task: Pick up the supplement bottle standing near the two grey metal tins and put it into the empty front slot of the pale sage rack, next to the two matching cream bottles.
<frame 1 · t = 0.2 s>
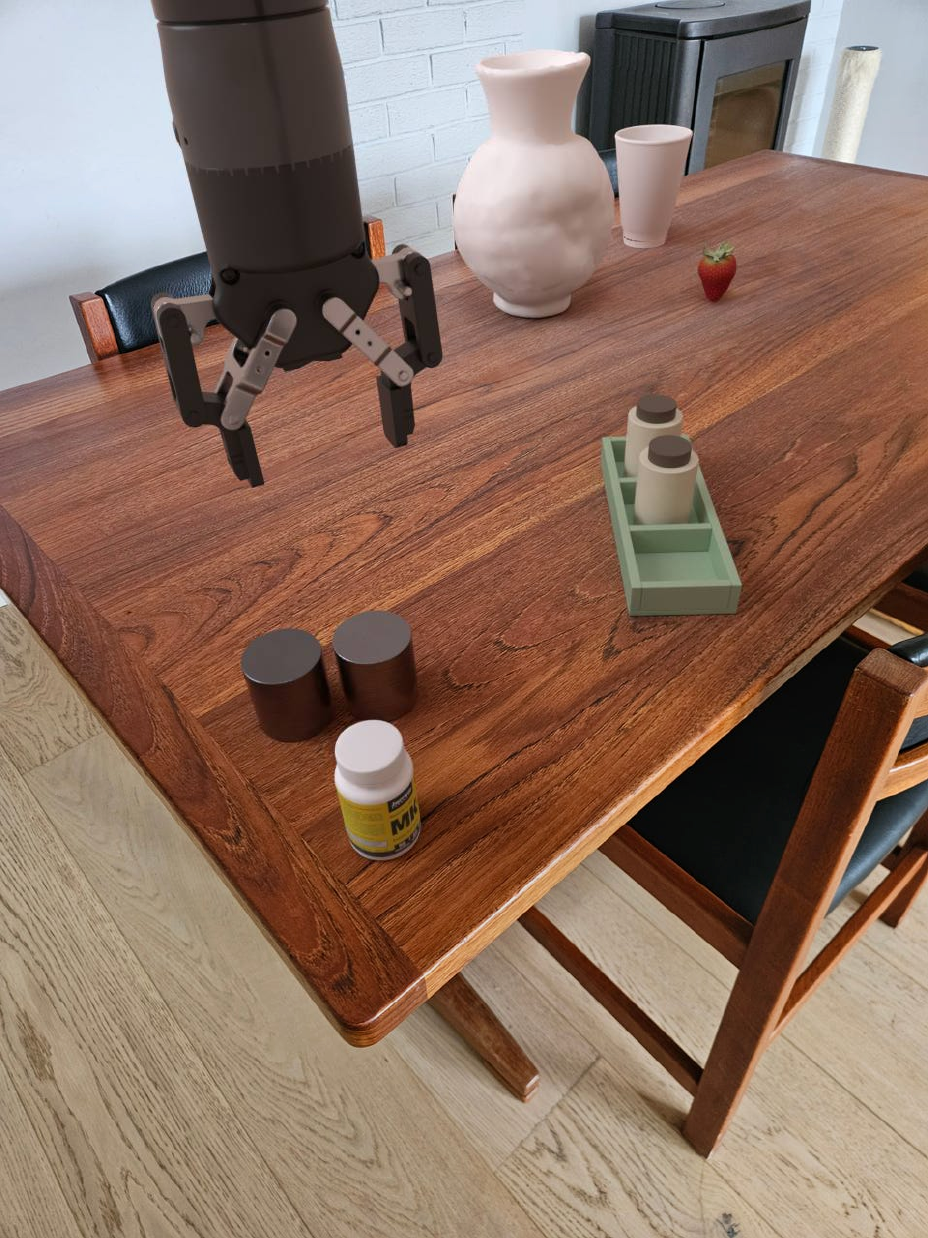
hand: (327, 460, 47), 21 cm above the table, tool pointing down, fingers open, 8 cm apart
vase: (531, 307, 119), on the table
rack: (659, 529, 76), on the table
fruit: (712, 301, 117), on the table
grey tin 2: (297, 713, 61), on the table
grey tin 1: (381, 694, 62), on the table
supplement bottle: (385, 832, 53), on the table
cream bottle 2: (648, 479, 81), resting on rack
cup: (644, 242, 137), on the table
cream bottle 1: (660, 524, 76), resting on rack
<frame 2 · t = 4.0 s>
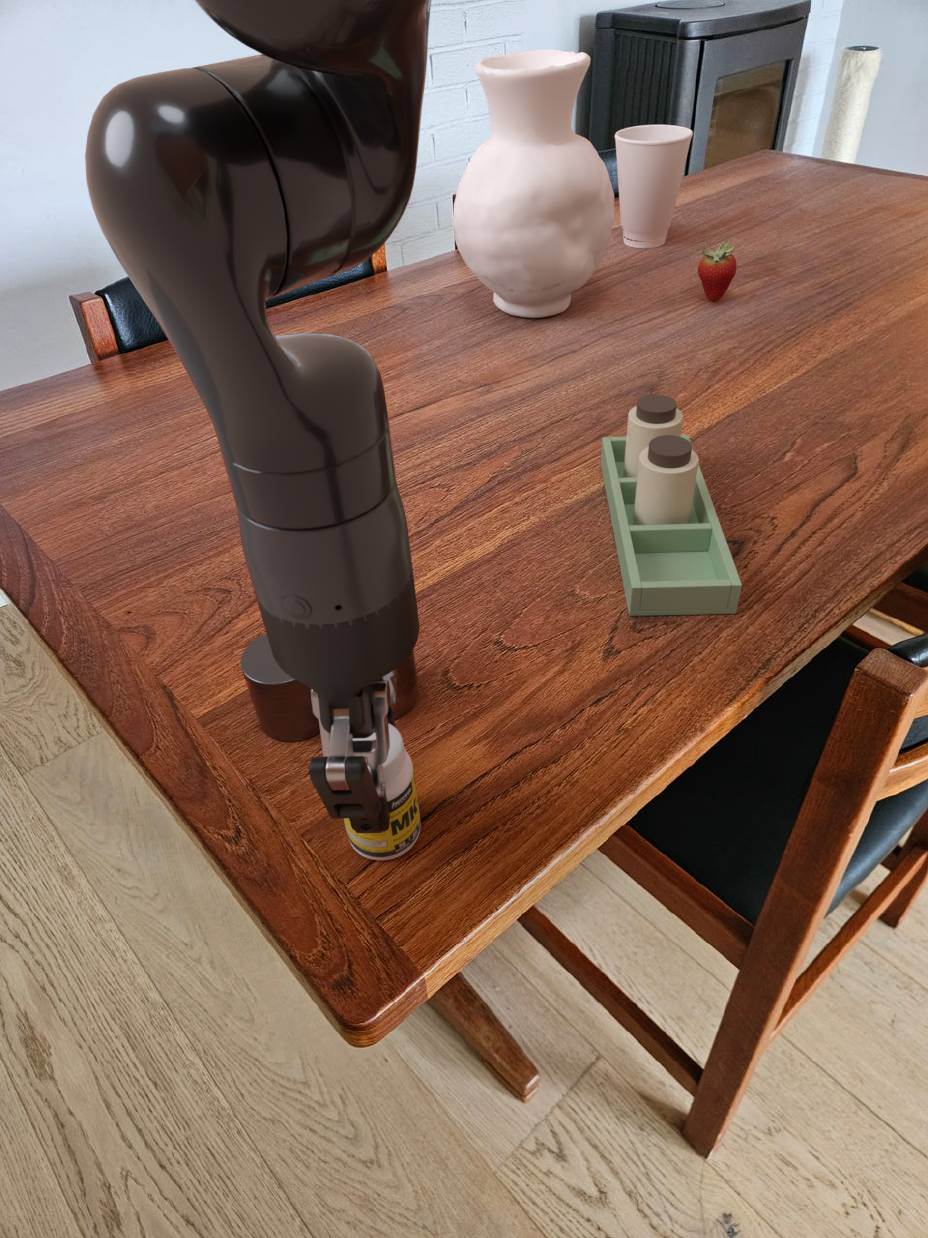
hand: (376, 787, 50), 4 cm above the table, tool pointing down, fingers closed on supplement bottle, 4 cm apart
supplement bottle: (385, 832, 53), on the table, touching gripper
everything else where it was.
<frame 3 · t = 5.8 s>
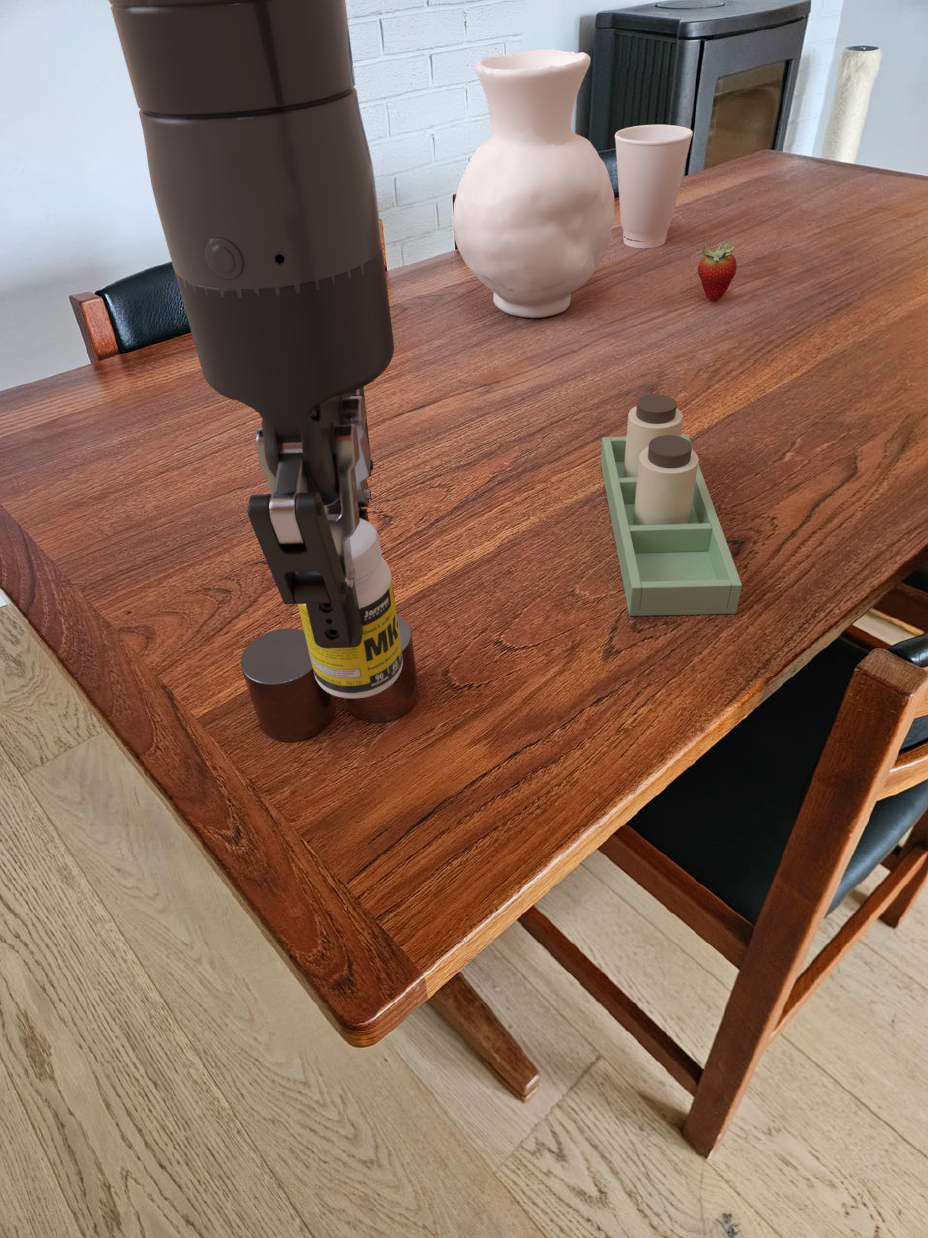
hand: (347, 604, 41), 19 cm above the table, tool pointing down, fingers closed on supplement bottle, 4 cm apart
supplement bottle: (360, 671, 44), point 14 cm above the table, touching gripper
everything else where it was.
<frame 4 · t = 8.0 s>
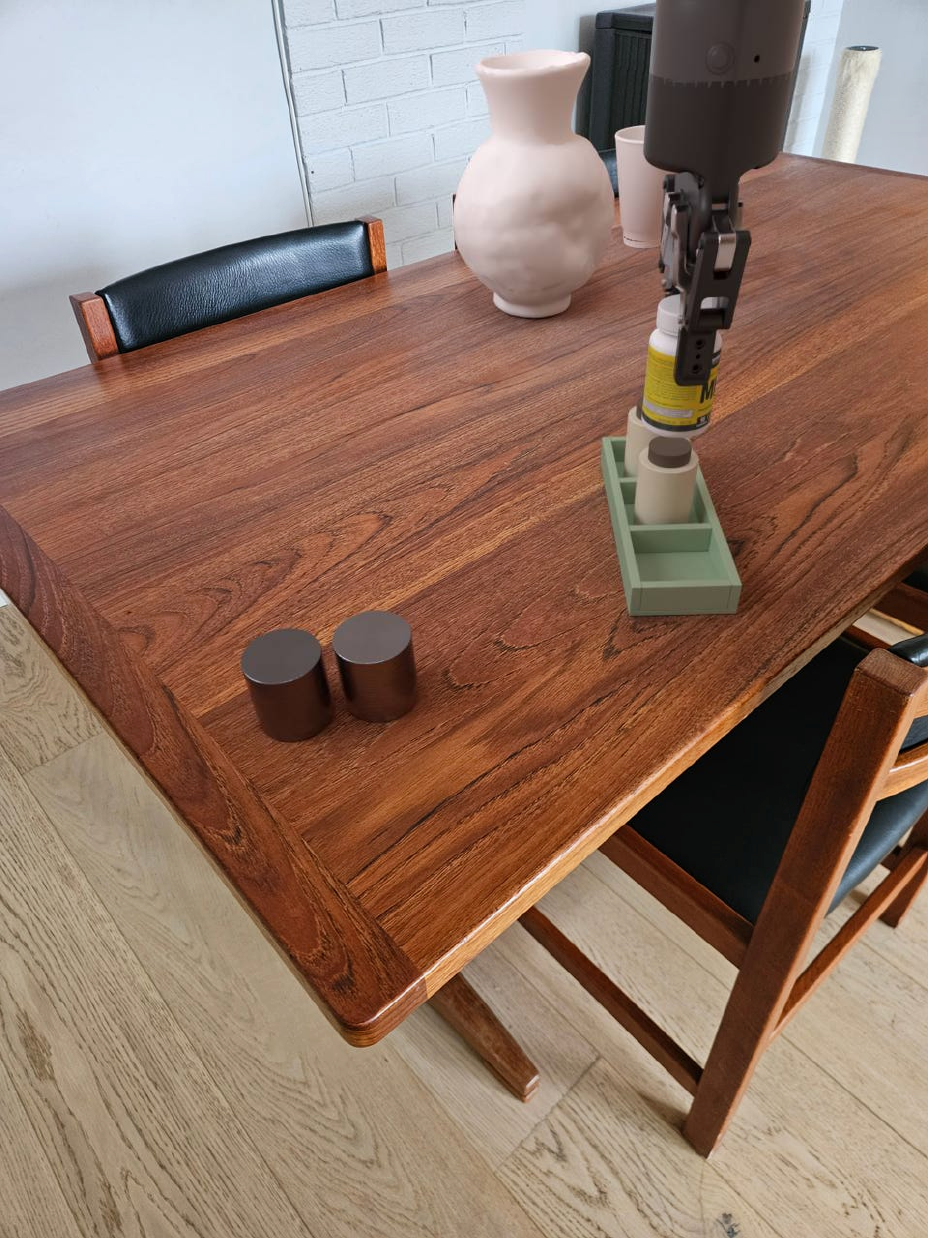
hand: (683, 364, 55), 20 cm above the table, tool pointing down, fingers closed on supplement bottle, 4 cm apart
supplement bottle: (674, 426, 58), point 16 cm above the table, touching gripper
everything else where it was.
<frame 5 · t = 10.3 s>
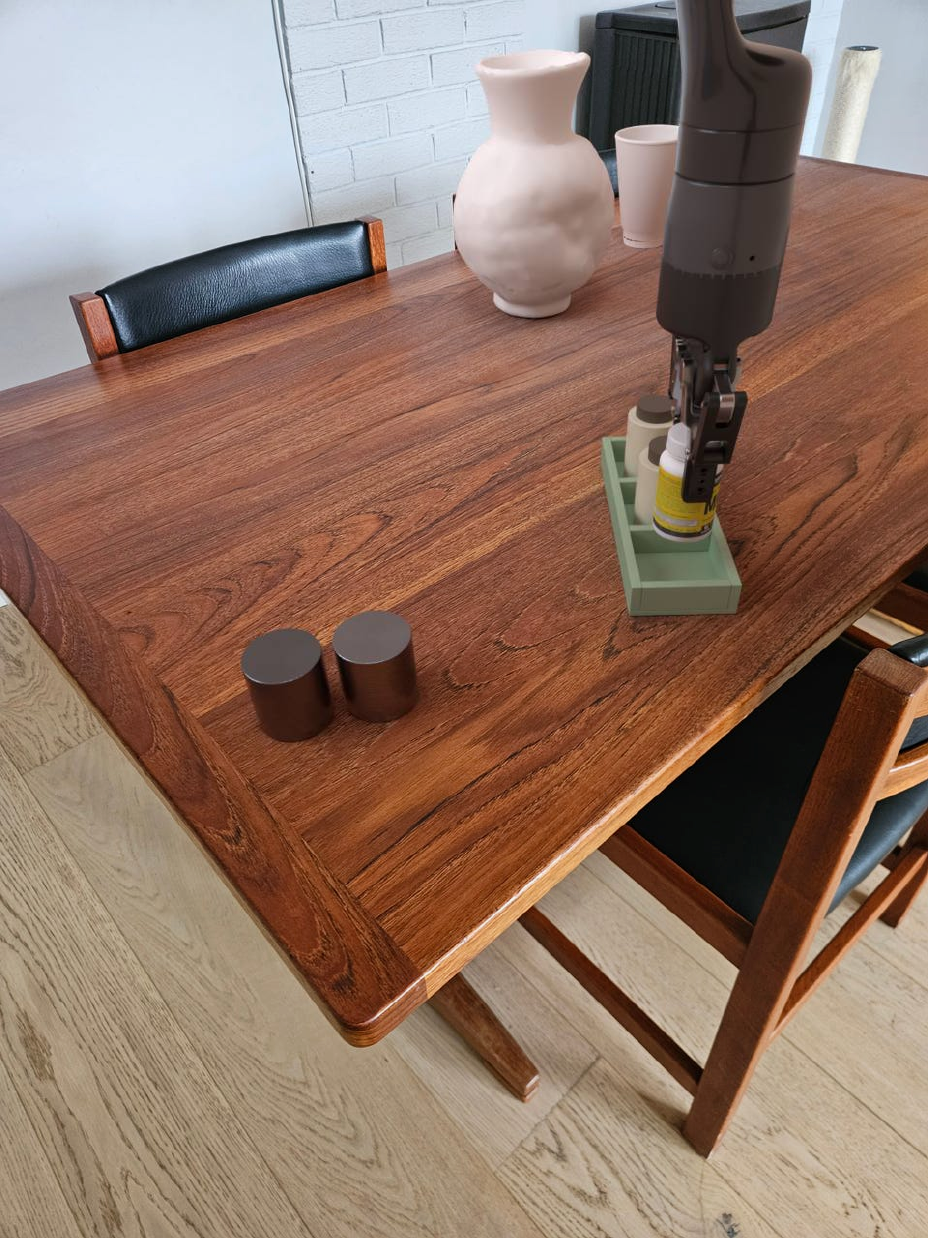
hand: (689, 479, 63), 10 cm above the table, tool pointing down, fingers closed on supplement bottle, 4 cm apart
supplement bottle: (681, 529, 66), point 6 cm above the table, touching gripper
everything else where it was.
when the fingers open (5 cm above the table, at t = 12.0 s): supplement bottle stays where it is, resting on rack.
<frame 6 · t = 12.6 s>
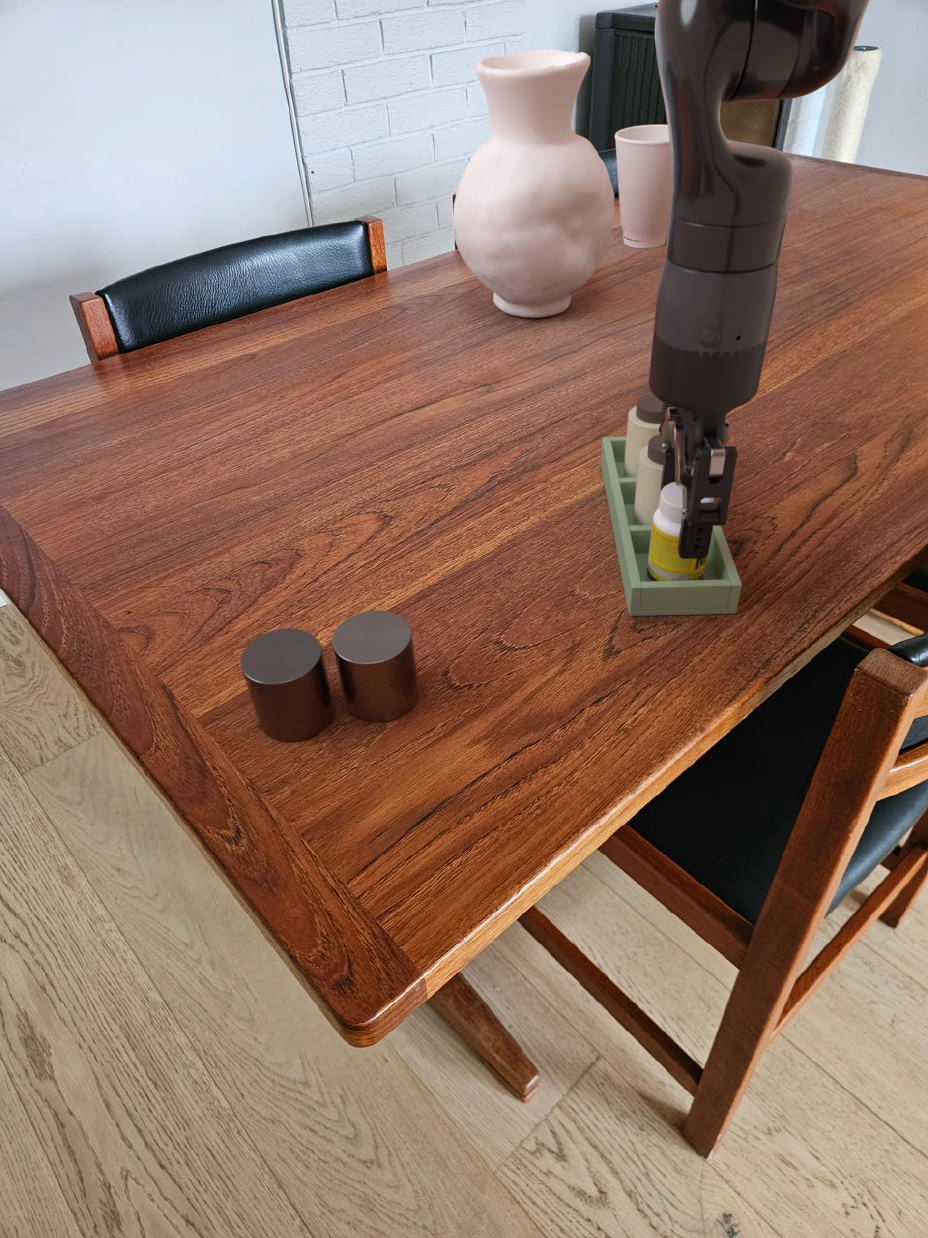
hand: (682, 524, 66), 6 cm above the table, tool pointing down, fingers open, 8 cm apart
supplement bottle: (674, 580, 70), resting on rack
cream bottle 1: (660, 523, 75), point 1 cm above the table, touching gripper, rack
everything else where it was.
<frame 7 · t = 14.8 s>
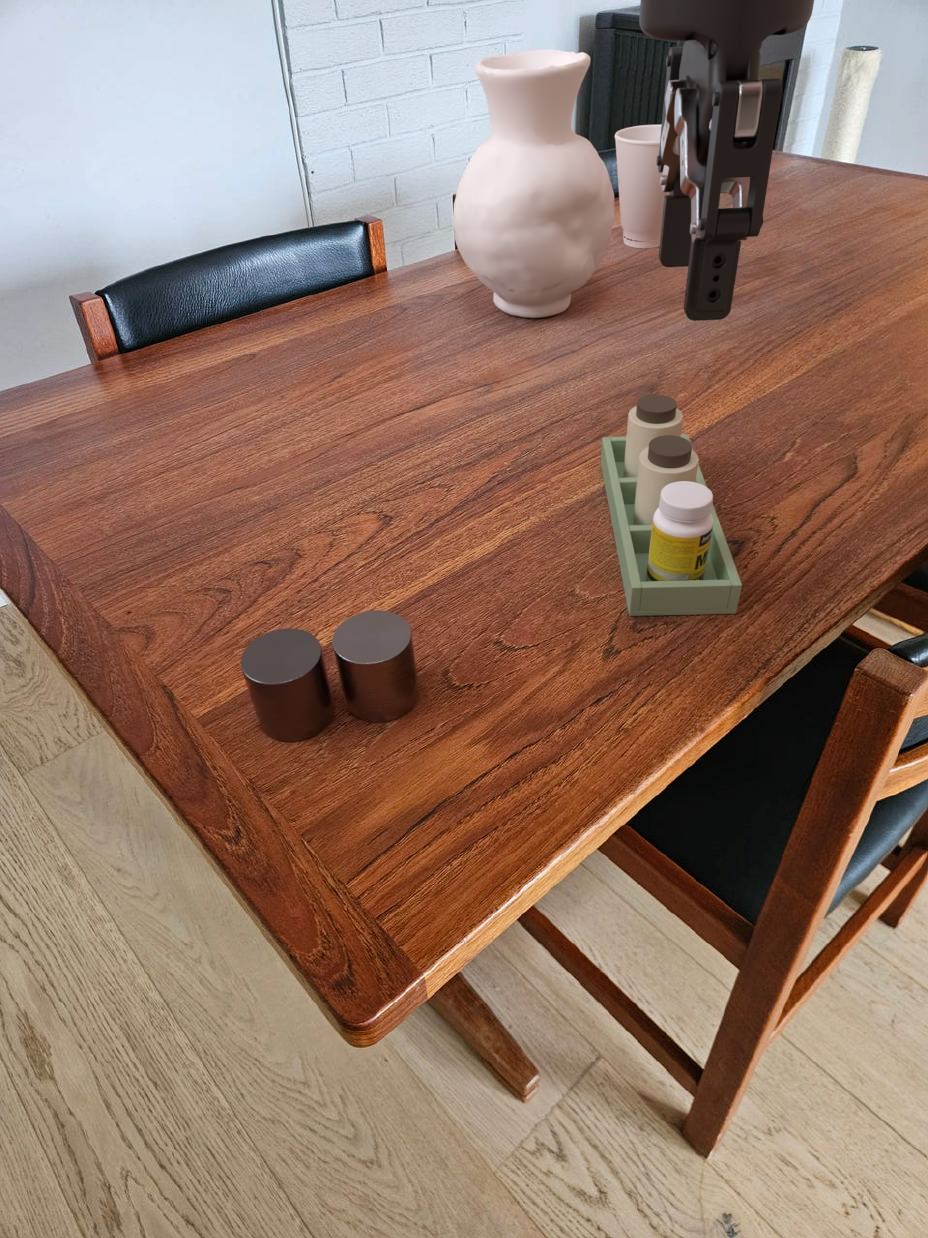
hand: (690, 289, 45), 28 cm above the table, tool pointing down, fingers open, 8 cm apart
cream bottle 1: (660, 524, 76), resting on rack
everything else where it was.
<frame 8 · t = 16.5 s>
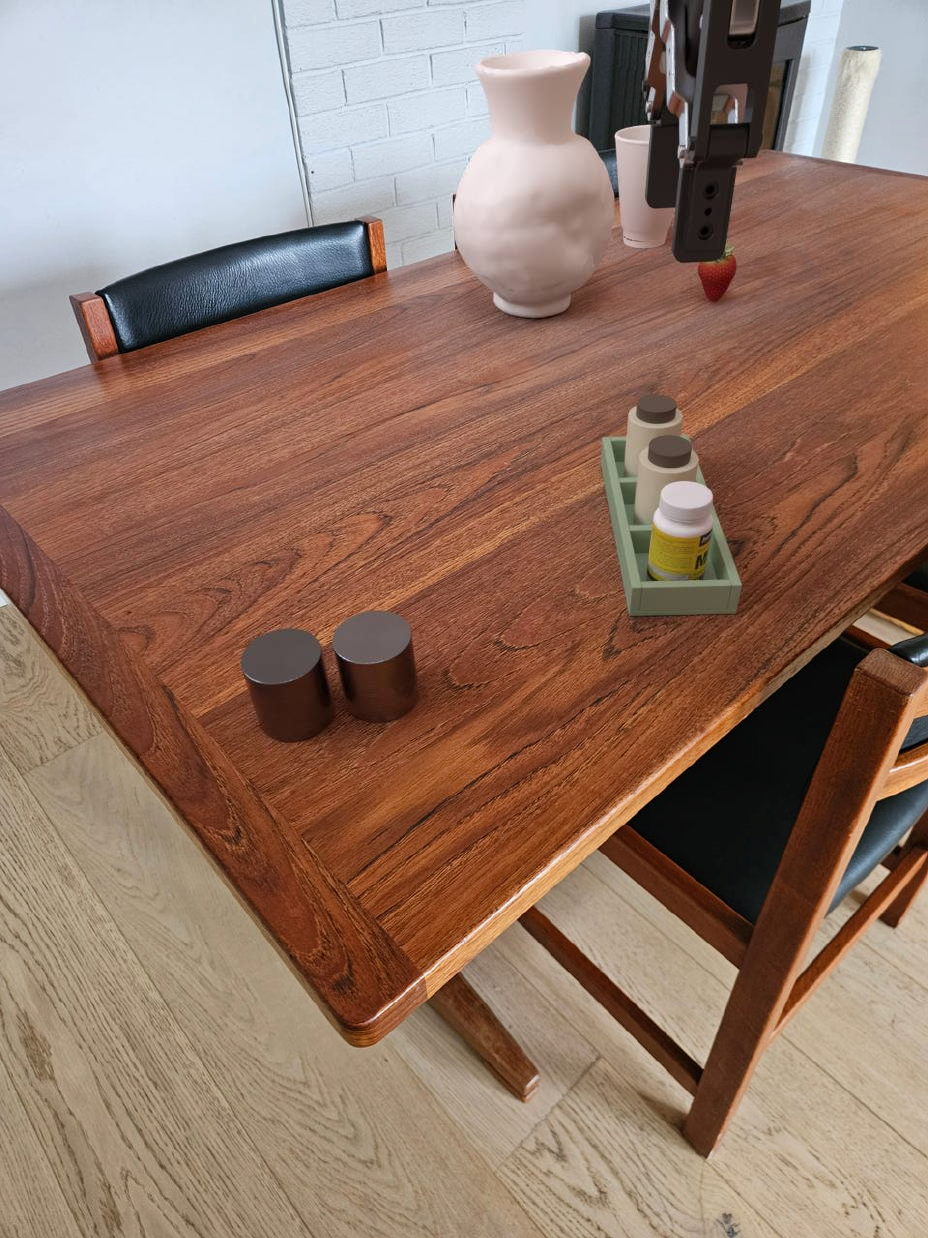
hand: (679, 230, 40), 32 cm above the table, tool pointing down, fingers open, 8 cm apart
nothing on the table moved.
at the end: supplement bottle 0.2 cm from the target spot in the rack, point 0.3 cm above the rack's base; supplement bottle tilted 0°; supplement bottle 8.0 cm from the cream bottle 1 (horizontally) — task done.
